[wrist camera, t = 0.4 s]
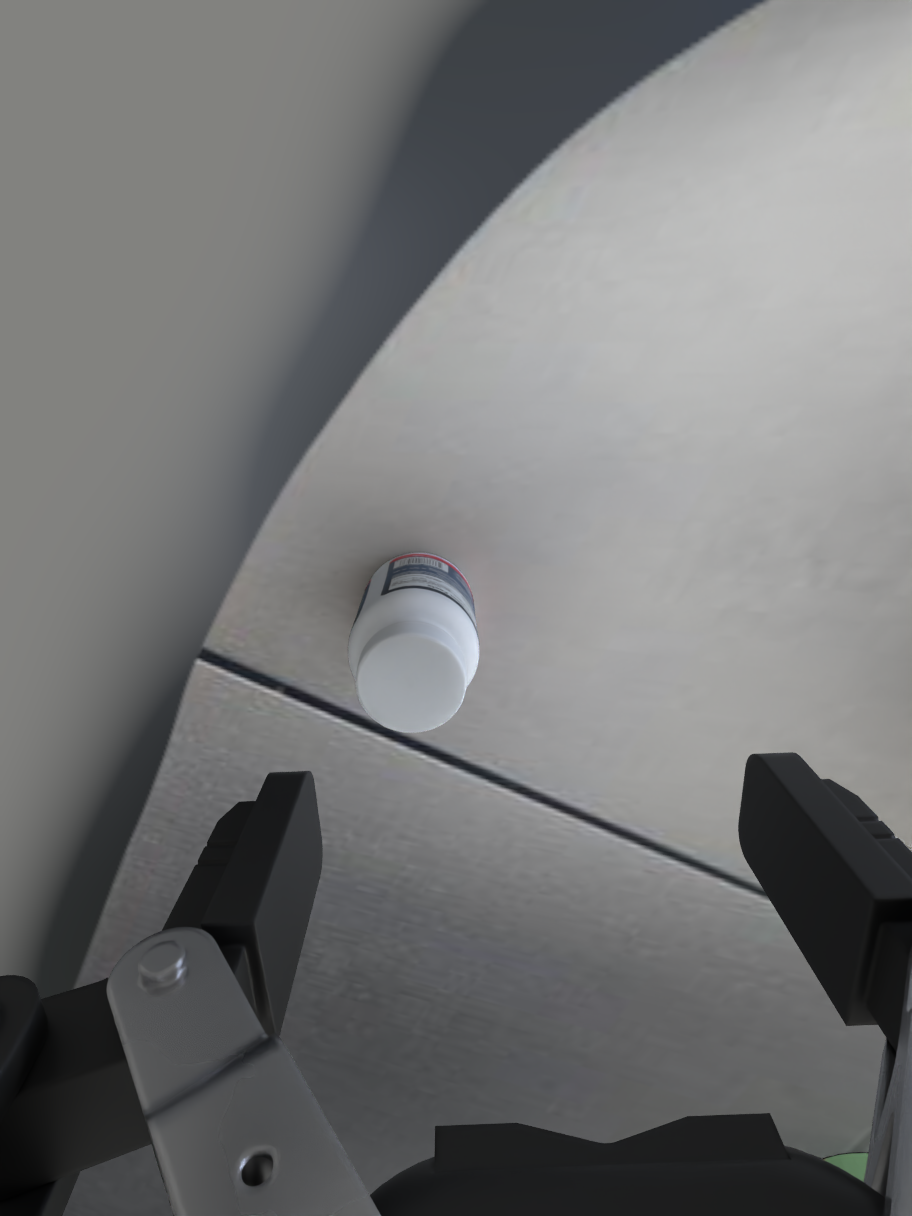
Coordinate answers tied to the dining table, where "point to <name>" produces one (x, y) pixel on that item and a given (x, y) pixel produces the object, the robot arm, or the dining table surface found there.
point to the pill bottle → (414, 643)
